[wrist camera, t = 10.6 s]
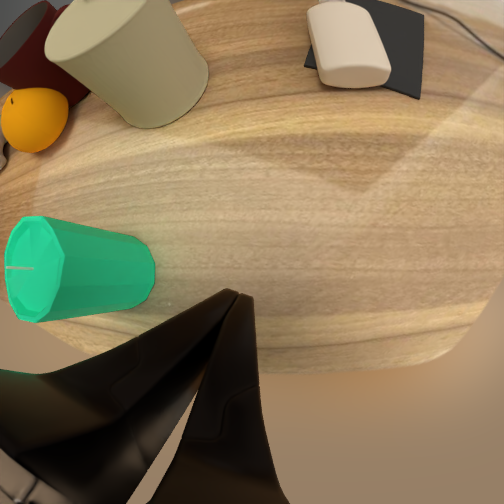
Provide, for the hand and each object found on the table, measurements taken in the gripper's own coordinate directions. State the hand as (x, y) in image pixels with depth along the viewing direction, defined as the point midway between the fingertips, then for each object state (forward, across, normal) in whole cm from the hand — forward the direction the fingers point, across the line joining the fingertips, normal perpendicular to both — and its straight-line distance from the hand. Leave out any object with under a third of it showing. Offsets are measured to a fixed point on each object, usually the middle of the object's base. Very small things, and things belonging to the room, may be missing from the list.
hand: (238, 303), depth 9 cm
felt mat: (+24, -2, -13) cm, 27 cm away
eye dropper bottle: (+18, -2, -8) cm, 19 cm away
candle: (+10, +12, +10) cm, 18 cm away
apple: (+17, +28, +1) cm, 32 cm away
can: (+19, +15, -4) cm, 24 cm away
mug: (+20, +26, -4) cm, 33 cm away
